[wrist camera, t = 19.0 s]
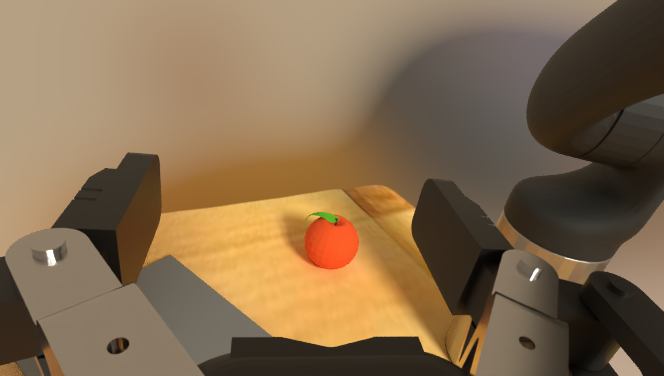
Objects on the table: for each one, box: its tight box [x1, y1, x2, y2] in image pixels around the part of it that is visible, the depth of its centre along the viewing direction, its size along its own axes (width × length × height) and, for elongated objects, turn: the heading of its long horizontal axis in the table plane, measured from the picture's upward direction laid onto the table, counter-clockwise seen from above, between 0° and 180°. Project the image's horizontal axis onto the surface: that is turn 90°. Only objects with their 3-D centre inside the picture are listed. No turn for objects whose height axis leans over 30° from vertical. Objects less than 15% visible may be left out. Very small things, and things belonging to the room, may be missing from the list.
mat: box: [16, 255, 272, 376], centre depth 38 cm, size 17×18×1 cm
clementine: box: [305, 212, 359, 269], centre depth 51 cm, size 8×7×7 cm
